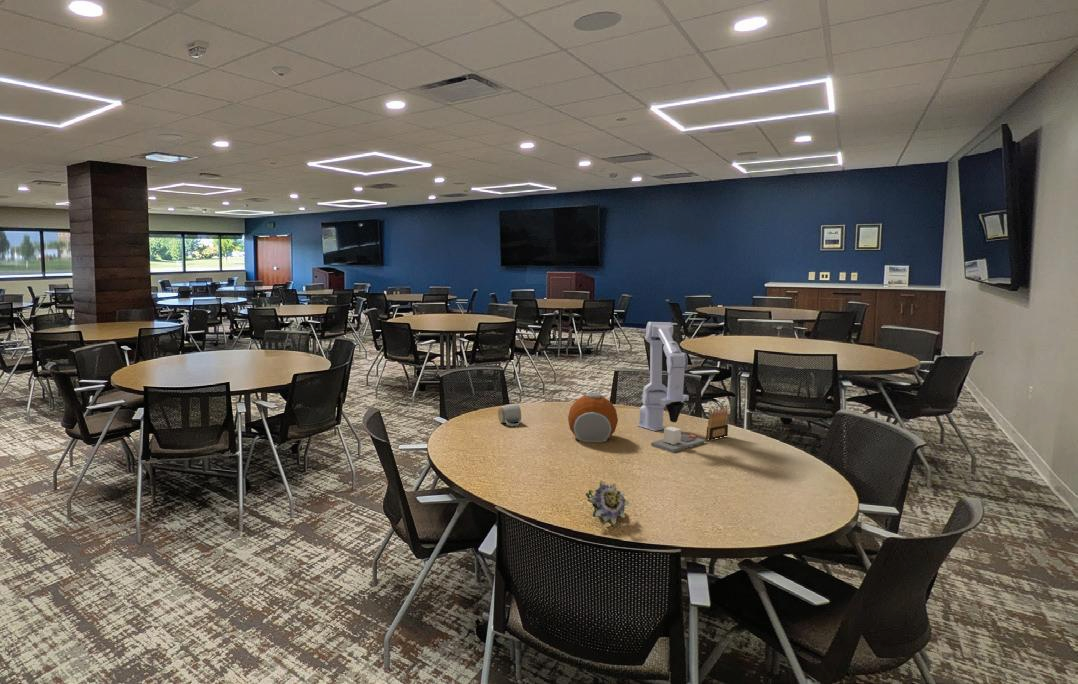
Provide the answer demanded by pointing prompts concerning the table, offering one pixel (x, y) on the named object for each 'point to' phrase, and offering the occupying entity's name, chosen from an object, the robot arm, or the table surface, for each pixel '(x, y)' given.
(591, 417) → the alarm clock
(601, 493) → the passion flower
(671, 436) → the plug
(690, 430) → the table surface
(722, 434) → the ammunition clip
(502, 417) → the ceramic mug
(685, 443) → the socket strip
